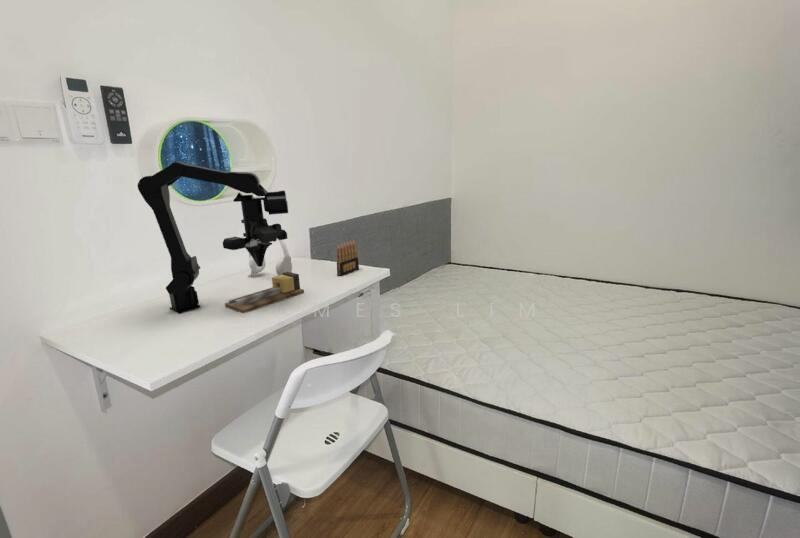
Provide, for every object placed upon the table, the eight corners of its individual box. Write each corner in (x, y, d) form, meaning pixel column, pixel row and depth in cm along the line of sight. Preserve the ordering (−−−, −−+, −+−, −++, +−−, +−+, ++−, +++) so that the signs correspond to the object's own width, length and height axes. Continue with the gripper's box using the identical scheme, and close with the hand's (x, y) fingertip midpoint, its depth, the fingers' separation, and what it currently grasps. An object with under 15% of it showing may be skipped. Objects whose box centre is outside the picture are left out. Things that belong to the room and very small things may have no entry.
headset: (297, 279, 151) (292, 231, 146) (282, 285, 146) (276, 235, 141) (262, 272, 162) (256, 227, 157) (246, 277, 157) (240, 230, 152)
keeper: (284, 293, 133) (282, 280, 131) (273, 289, 136) (271, 277, 135) (294, 289, 135) (293, 277, 134) (283, 286, 139) (282, 274, 138)
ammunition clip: (355, 268, 163) (353, 238, 159) (359, 269, 162) (357, 239, 158) (337, 275, 154) (334, 244, 151) (340, 276, 153) (338, 244, 150)
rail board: (243, 313, 120) (240, 293, 118) (225, 306, 126) (222, 287, 124) (304, 292, 136) (302, 275, 135) (285, 287, 142) (283, 270, 141)
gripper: (239, 222, 111) (247, 277, 116) (295, 213, 125) (301, 263, 129) (217, 219, 118) (226, 272, 122) (273, 211, 132) (279, 258, 136)
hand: (260, 266), depth 128 cm, fingers closed
